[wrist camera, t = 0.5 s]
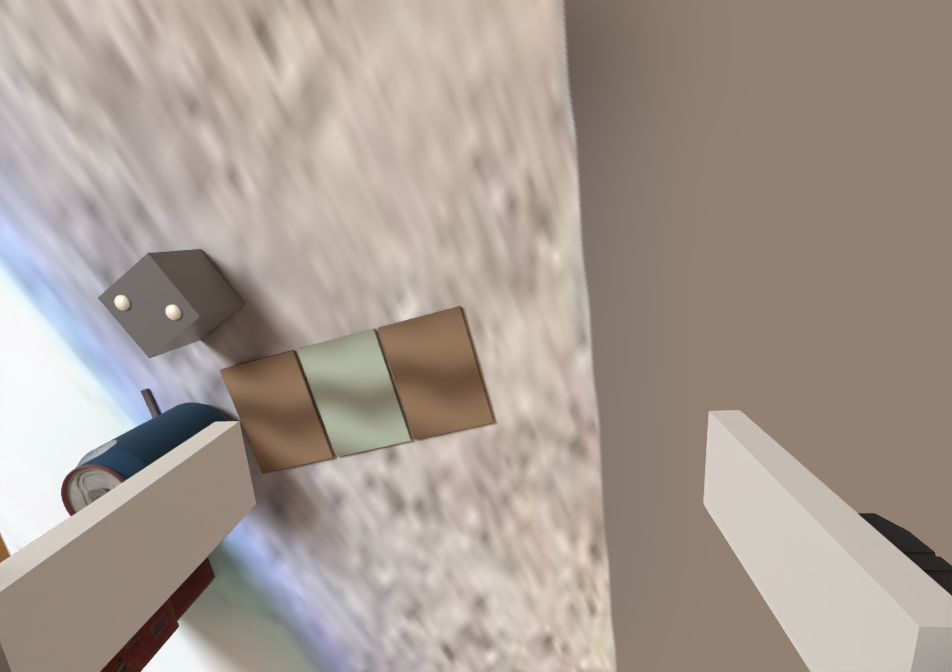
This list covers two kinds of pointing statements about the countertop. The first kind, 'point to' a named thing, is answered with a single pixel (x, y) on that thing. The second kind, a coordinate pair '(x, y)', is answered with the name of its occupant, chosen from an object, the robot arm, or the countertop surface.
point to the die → (170, 300)
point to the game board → (358, 392)
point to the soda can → (133, 453)
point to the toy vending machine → (161, 623)
